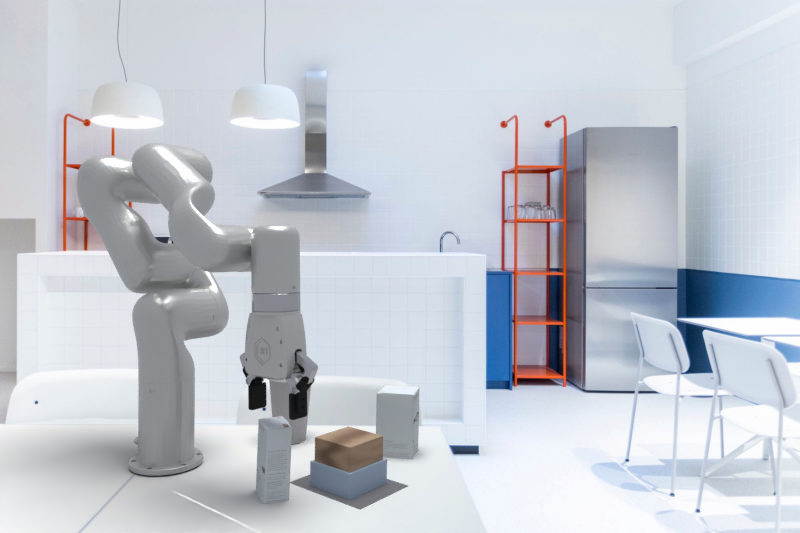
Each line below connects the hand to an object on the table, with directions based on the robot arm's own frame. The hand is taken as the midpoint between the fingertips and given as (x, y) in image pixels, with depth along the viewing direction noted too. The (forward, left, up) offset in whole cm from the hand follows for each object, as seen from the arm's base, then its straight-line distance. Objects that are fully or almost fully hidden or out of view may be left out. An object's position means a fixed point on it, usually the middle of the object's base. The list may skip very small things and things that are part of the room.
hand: (277, 413), depth 95 cm
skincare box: (-1, 0, -14) cm, 14 cm away
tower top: (+5, +11, -9) cm, 15 cm away
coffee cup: (-21, +21, -14) cm, 33 cm away
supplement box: (+1, +29, -14) cm, 32 cm away
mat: (+5, +11, -14) cm, 18 cm away
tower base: (+5, +11, -13) cm, 18 cm away
